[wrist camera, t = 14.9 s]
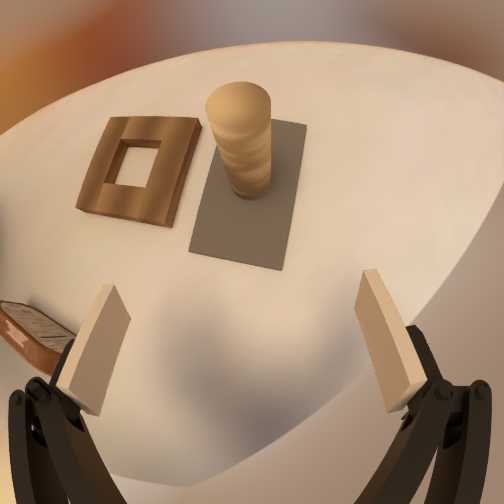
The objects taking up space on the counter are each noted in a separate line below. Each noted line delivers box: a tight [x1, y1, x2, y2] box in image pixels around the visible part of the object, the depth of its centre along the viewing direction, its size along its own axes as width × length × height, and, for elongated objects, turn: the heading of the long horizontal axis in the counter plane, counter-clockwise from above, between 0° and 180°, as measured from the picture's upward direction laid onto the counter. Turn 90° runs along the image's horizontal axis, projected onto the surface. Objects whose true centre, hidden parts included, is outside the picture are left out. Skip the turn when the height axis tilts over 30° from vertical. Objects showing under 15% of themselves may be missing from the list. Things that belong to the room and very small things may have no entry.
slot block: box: [76, 116, 202, 228], centre depth 28 cm, size 12×12×2 cm
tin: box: [0, 301, 77, 376], centre depth 22 cm, size 15×3×8 cm, turn 72°
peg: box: [206, 82, 271, 200], centre depth 21 cm, size 4×4×12 cm
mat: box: [188, 119, 307, 270], centre depth 27 cm, size 9×16×1 cm, turn 168°
